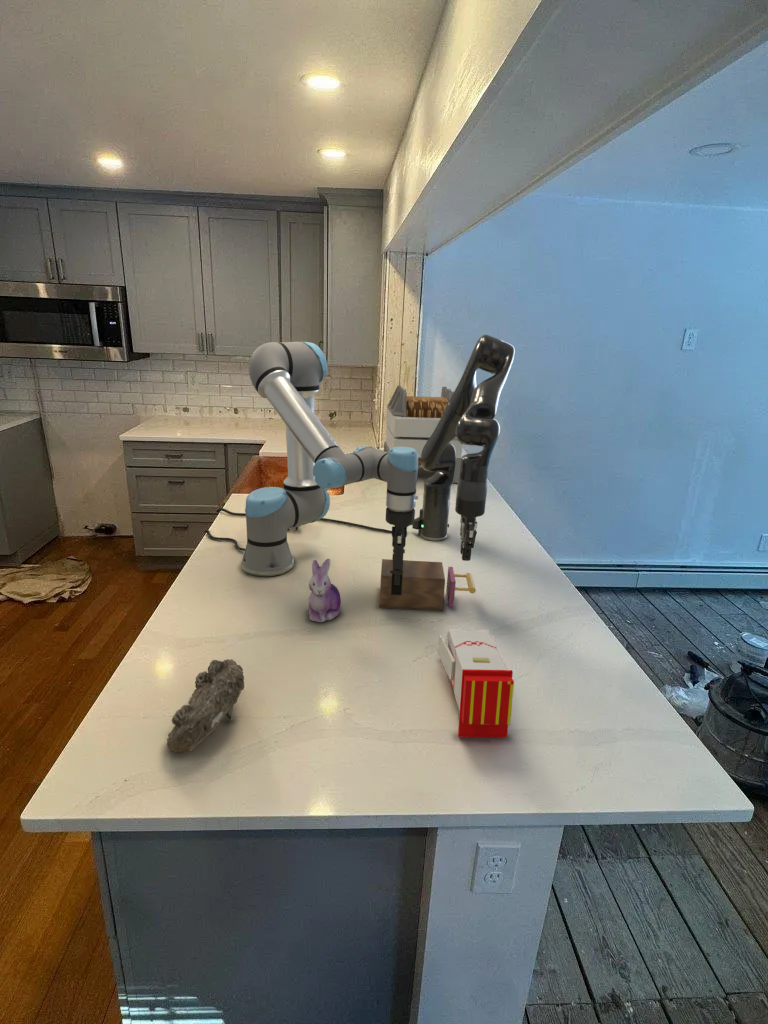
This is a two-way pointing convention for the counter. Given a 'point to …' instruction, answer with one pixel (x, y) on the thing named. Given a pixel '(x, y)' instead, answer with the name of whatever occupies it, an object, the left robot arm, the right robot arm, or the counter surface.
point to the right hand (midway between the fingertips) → (465, 556)
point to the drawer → (452, 588)
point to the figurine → (323, 594)
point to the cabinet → (414, 586)
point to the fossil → (206, 705)
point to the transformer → (417, 422)
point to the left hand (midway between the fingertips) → (396, 584)
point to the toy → (478, 682)
